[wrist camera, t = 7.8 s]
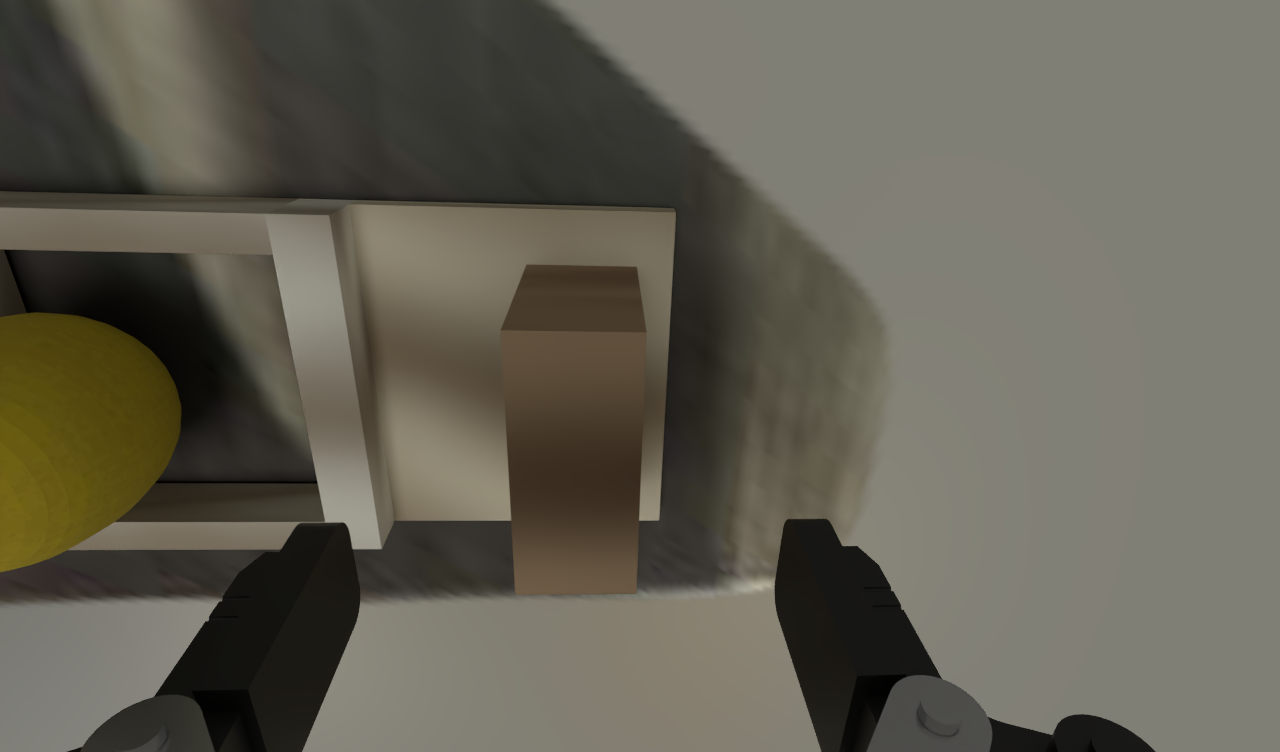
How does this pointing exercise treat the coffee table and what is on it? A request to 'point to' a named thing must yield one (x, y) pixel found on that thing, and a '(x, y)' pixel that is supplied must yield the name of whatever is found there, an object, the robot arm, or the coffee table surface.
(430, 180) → the coffee table surface
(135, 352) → the lemon
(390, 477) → the white open frame tray
